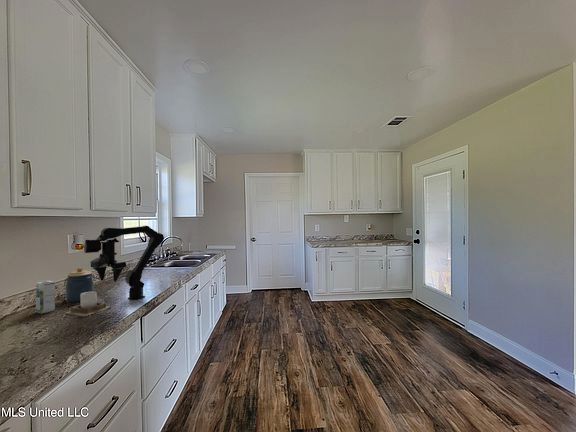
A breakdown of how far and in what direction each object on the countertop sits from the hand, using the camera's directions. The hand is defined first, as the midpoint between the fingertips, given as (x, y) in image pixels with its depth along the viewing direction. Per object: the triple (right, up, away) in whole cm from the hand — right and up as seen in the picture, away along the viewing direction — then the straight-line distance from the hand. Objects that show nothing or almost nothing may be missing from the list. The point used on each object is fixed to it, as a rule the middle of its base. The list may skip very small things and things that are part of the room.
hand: (108, 280), depth 147 cm
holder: (-2, -12, -11) cm, 17 cm away
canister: (-22, -13, +9) cm, 27 cm away
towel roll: (-2, -11, -11) cm, 16 cm away
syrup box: (-23, -12, -11) cm, 29 cm away
